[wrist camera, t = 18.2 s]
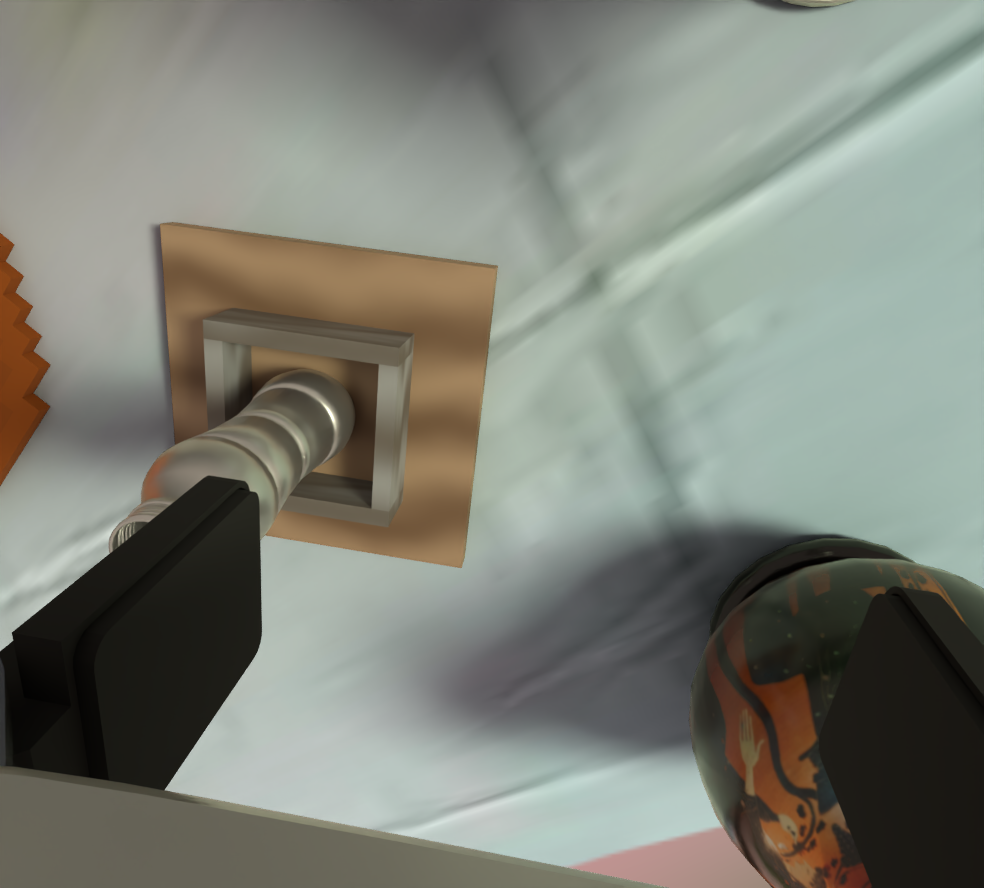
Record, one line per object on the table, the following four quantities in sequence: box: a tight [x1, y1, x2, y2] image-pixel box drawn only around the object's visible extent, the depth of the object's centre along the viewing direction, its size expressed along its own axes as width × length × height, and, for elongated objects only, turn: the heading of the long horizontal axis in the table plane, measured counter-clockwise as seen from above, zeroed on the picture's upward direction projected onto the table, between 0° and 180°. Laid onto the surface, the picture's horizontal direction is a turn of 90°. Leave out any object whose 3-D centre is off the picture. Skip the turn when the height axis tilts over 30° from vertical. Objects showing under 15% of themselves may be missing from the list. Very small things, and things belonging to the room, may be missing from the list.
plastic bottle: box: [109, 369, 355, 553], centre depth 39 cm, size 6×7×20 cm
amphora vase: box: [689, 538, 984, 888], centre depth 38 cm, size 22×22×28 cm
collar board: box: [160, 222, 498, 568], centre depth 47 cm, size 22×22×6 cm
